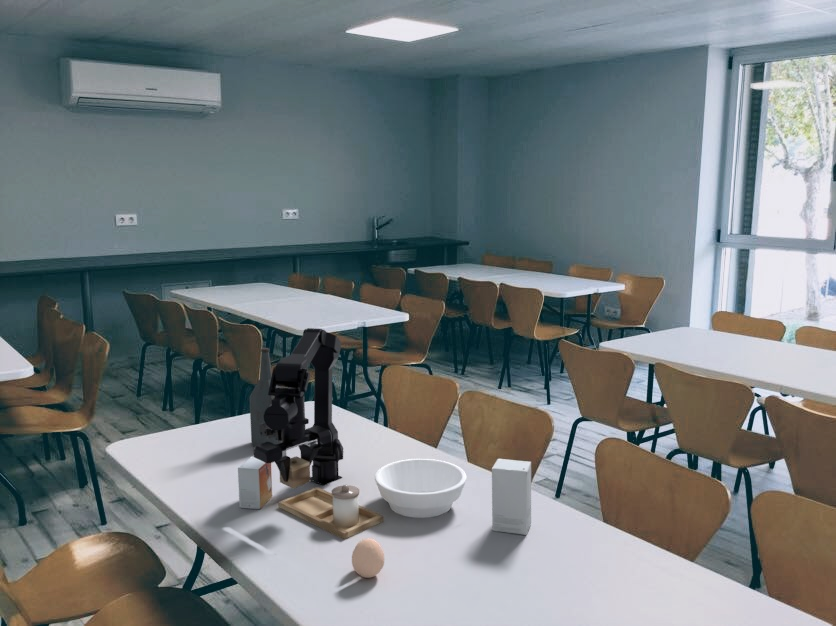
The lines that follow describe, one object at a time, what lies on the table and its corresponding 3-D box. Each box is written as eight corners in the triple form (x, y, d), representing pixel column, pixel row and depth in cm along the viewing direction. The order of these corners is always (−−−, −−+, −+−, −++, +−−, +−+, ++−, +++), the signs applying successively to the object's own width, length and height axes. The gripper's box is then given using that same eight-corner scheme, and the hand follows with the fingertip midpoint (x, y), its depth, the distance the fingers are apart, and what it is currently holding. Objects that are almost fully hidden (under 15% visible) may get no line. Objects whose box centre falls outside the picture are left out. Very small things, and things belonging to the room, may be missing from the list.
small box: (260, 510, 180) (258, 469, 178) (239, 508, 181) (237, 467, 179) (273, 496, 188) (271, 457, 186) (252, 494, 189) (250, 455, 187)
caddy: (317, 495, 188) (317, 487, 188) (383, 524, 172) (383, 515, 172) (279, 510, 180) (278, 501, 179) (344, 542, 164) (344, 533, 163)
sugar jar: (347, 512, 177) (346, 477, 175) (365, 521, 172) (364, 484, 171) (326, 521, 172) (325, 485, 170) (344, 530, 168) (344, 492, 166)
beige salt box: (297, 475, 177) (296, 455, 176) (310, 481, 174) (309, 461, 173) (280, 482, 173) (279, 461, 172) (293, 488, 170) (292, 467, 169)
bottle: (259, 437, 231) (255, 344, 226) (289, 438, 230) (286, 345, 224) (247, 449, 221) (242, 351, 216) (278, 450, 220) (275, 352, 214)
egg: (358, 587, 146) (357, 550, 144) (347, 571, 152) (347, 535, 150) (389, 580, 148) (389, 543, 147) (377, 564, 154) (377, 529, 153)
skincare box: (531, 524, 172) (533, 461, 170) (526, 537, 166) (528, 471, 164) (496, 519, 175) (497, 456, 172) (490, 531, 169) (491, 467, 166)
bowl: (479, 497, 187) (479, 466, 186) (444, 535, 167) (445, 501, 166) (399, 482, 197) (399, 453, 195) (358, 517, 176) (357, 484, 175)
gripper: (303, 397, 182) (305, 457, 185) (238, 416, 169) (241, 480, 172) (332, 408, 175) (334, 469, 178) (266, 428, 161) (269, 494, 165)
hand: (295, 477), depth 173 cm, fingers closed on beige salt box, 5 cm apart
